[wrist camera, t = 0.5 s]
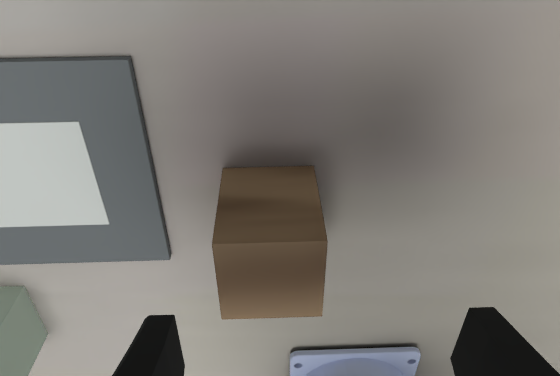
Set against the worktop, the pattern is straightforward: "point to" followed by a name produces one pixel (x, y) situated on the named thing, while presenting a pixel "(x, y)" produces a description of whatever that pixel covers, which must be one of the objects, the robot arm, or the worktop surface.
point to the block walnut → (269, 243)
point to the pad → (76, 164)
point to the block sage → (19, 331)
